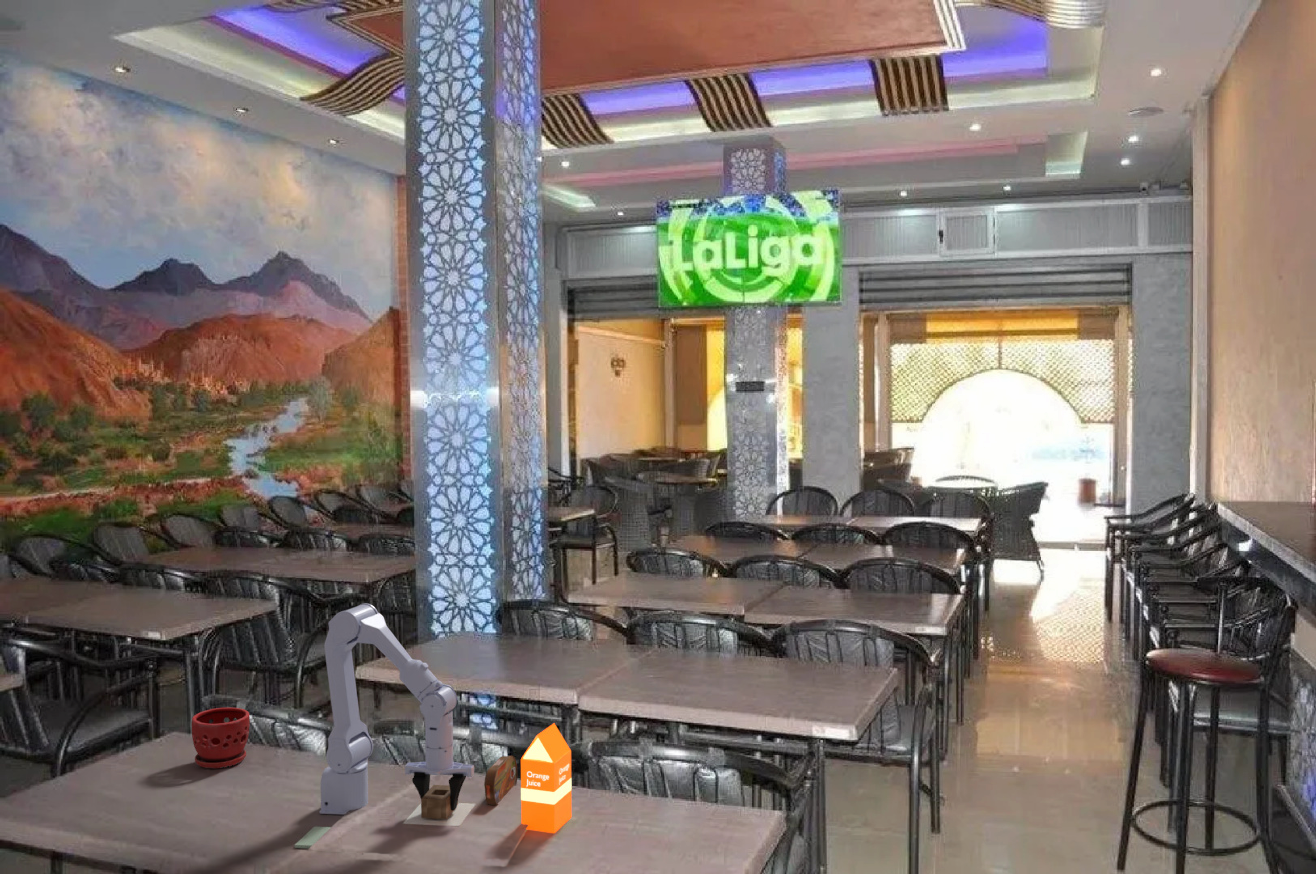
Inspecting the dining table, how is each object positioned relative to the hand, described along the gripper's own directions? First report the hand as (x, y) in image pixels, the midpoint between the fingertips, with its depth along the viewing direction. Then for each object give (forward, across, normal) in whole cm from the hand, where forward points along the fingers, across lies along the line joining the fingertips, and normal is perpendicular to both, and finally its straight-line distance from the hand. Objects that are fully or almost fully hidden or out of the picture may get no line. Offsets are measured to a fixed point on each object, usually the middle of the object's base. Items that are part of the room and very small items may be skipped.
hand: (440, 808), depth 225 cm
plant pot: (+2, -64, +27) cm, 70 cm away
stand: (+2, 0, 0) cm, 2 cm away
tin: (+2, +10, +12) cm, 16 cm away
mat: (+2, -15, -13) cm, 20 cm away
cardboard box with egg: (+1, 0, 0) cm, 1 cm away
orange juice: (+2, +23, 0) cm, 23 cm away
